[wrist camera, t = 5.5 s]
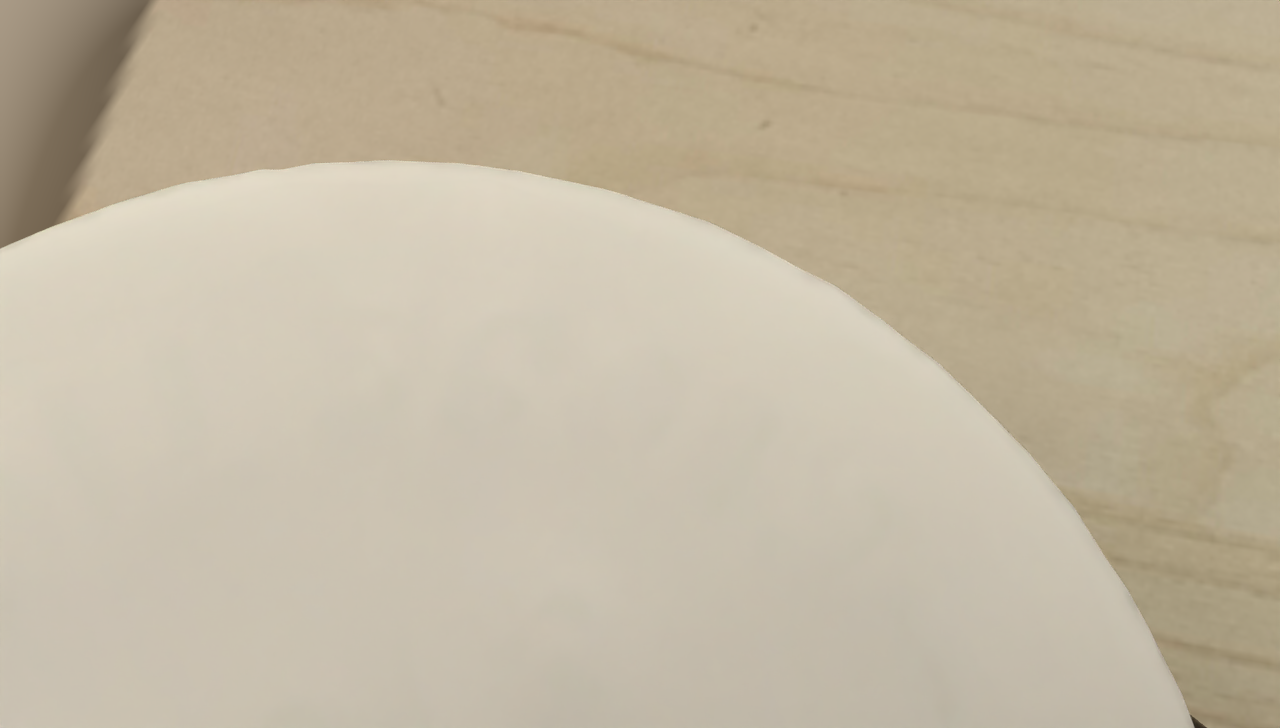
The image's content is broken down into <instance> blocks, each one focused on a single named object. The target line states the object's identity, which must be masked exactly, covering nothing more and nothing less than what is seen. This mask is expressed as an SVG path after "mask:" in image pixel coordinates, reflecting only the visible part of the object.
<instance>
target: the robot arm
mask: <svg viewBox="0 0 1280 728" xmlns="http://www.w3.org/2000/svg"><path fill="white" fill-rule="evenodd" d="M1190 717H1191V719H1192V722H1193V725H1194V727H1195V728H1206V727H1205V726H1204V725H1203V724H1201V723H1200V722H1199V721H1198V720H1196V719H1195V718H1194V717H1192V716H1191V715H1190Z"/></svg>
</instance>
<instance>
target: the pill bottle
mask: <svg viewBox="0 0 1280 728" xmlns="http://www.w3.org/2000/svg"><path fill="white" fill-rule="evenodd" d="M0 728H1195V727H1194V725H1193V722H1192V719H1191V717H1190V714H1189V712H1188V709H1187V706H1186V704H1185V701H1184V698H1183V696H1182V693H1181V691H1180V689H1179V687H1178V685H1177V683H1176V682H1175V680H1174V678H1173V676H1172V674H1171V672H1170V670H1169V668H1168V666H1167V664H1166V662H1165V660H1164V658H1163V656H1162V654H1161V652H1160V650H1159V648H1158V646H1157V644H1156V642H1155V640H1154V638H1153V636H1152V634H1151V632H1150V630H1149V627H1148V625H1147V624H1146V622H1145V620H1144V618H1143V616H1142V615H1141V613H1140V611H1139V609H1138V607H1137V606H1136V604H1135V602H1134V600H1133V598H1132V597H1131V595H1130V593H1129V591H1128V589H1127V588H1126V586H1125V585H1124V583H1123V582H1122V581H1121V579H1120V578H1119V576H1118V575H1117V573H1116V572H1115V570H1114V569H1113V567H1112V566H1111V565H1110V563H1109V562H1108V560H1107V559H1106V557H1105V556H1104V554H1103V553H1102V551H1101V549H1100V548H1099V546H1098V545H1097V543H1096V541H1095V540H1094V538H1093V537H1092V535H1091V533H1090V532H1089V530H1088V529H1087V527H1086V525H1085V524H1084V522H1083V521H1082V519H1081V517H1080V516H1079V514H1078V512H1077V511H1076V509H1075V508H1074V507H1073V506H1072V504H1071V503H1070V502H1069V501H1068V500H1067V498H1066V497H1065V496H1064V495H1063V494H1062V492H1061V491H1060V490H1059V489H1058V487H1057V486H1056V485H1055V484H1054V483H1053V481H1052V480H1051V479H1050V478H1049V477H1048V475H1047V474H1046V473H1045V472H1044V471H1043V469H1042V468H1041V467H1040V466H1039V465H1038V463H1037V462H1036V461H1035V460H1034V458H1033V457H1032V456H1031V455H1030V454H1029V452H1028V451H1027V450H1026V449H1025V448H1024V447H1023V446H1022V445H1021V444H1020V443H1019V442H1018V441H1017V440H1016V439H1015V438H1014V437H1013V436H1012V435H1011V434H1010V433H1009V432H1008V431H1007V430H1006V429H1005V428H1004V427H1003V426H1002V425H1001V424H1000V423H999V422H998V421H997V420H996V419H995V418H994V417H993V416H992V415H991V414H990V413H989V412H988V411H987V410H986V409H985V408H984V407H983V406H982V405H981V404H980V403H979V402H978V401H977V400H976V399H975V398H974V397H973V396H972V395H971V394H970V393H969V392H968V391H967V390H966V389H965V388H964V387H963V386H962V385H961V384H959V383H958V382H957V381H956V380H955V379H954V378H953V377H952V376H951V375H950V374H949V373H948V372H947V371H946V370H945V369H944V368H943V367H942V366H941V365H940V364H939V363H938V362H936V361H935V360H934V359H932V358H931V357H930V356H928V355H927V354H926V353H924V352H923V351H922V350H920V349H919V348H918V347H916V346H915V345H914V344H912V343H911V342H910V341H908V340H907V339H906V338H904V337H903V336H902V335H900V334H899V333H898V332H896V331H895V330H894V329H893V328H892V327H890V326H889V325H888V324H887V323H886V322H884V321H883V320H882V319H880V318H879V317H878V316H876V315H875V314H874V313H872V312H871V311H870V310H868V309H867V308H865V307H864V306H863V305H861V304H860V303H859V302H857V301H856V300H854V299H853V298H852V297H850V296H849V295H848V294H846V293H845V292H844V291H842V290H841V289H839V288H838V287H837V286H835V285H833V284H831V283H829V282H827V281H825V280H822V279H820V278H818V277H816V276H814V275H812V274H810V273H808V272H806V271H804V270H802V269H800V268H798V267H796V266H794V265H792V264H791V263H789V262H787V261H785V260H783V259H782V258H780V257H778V256H776V255H774V254H772V253H771V252H769V251H767V250H765V249H763V248H761V247H759V246H757V245H755V244H753V243H751V242H749V241H747V240H745V239H743V238H741V237H739V236H737V235H735V234H733V233H731V232H729V231H727V230H725V229H723V228H721V227H719V226H717V225H715V224H713V223H710V222H707V221H704V220H701V219H698V218H695V217H692V216H689V215H686V214H683V213H679V212H676V211H673V210H670V209H667V208H664V207H660V206H657V205H654V204H651V203H648V202H645V201H641V200H638V199H635V198H632V197H629V196H626V195H622V194H619V193H616V192H613V191H610V190H606V189H601V188H597V187H592V186H587V185H583V184H578V183H574V182H569V181H564V180H560V179H555V178H550V177H545V176H540V175H535V174H530V173H525V172H520V171H514V170H507V169H499V168H492V167H484V166H477V165H469V164H460V163H439V162H417V161H395V160H380V161H364V162H342V163H313V164H308V165H303V166H297V167H292V168H287V169H282V170H256V171H251V172H246V173H242V174H237V175H232V176H225V177H219V178H213V179H207V180H201V181H194V182H188V183H182V184H179V185H175V186H172V187H169V188H165V189H162V190H158V191H155V192H152V193H148V194H145V195H142V196H138V197H135V198H132V199H128V200H125V201H122V202H119V203H116V204H113V205H110V206H108V207H105V208H102V209H99V210H97V211H94V212H91V213H88V214H86V215H83V216H80V217H77V218H75V219H72V220H69V221H67V222H64V223H61V224H58V225H56V226H53V227H50V228H48V229H46V230H44V231H41V232H38V233H36V234H34V235H32V236H29V237H27V238H24V239H22V240H20V241H17V242H15V243H12V244H10V245H8V246H6V247H3V248H1V249H0Z"/></svg>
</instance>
